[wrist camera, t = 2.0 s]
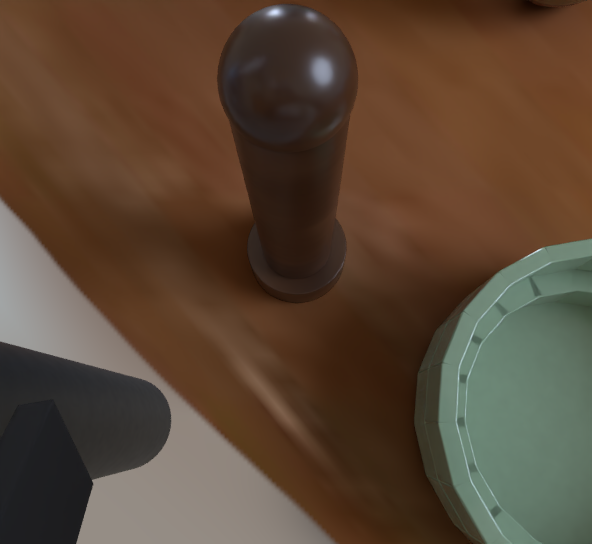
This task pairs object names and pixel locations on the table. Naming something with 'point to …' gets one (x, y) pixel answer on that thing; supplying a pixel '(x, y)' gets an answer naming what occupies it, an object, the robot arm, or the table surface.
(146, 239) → the table surface
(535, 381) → the bowl
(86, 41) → the table surface
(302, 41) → the pestle
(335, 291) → the table surface
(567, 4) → the ceramic vessel
